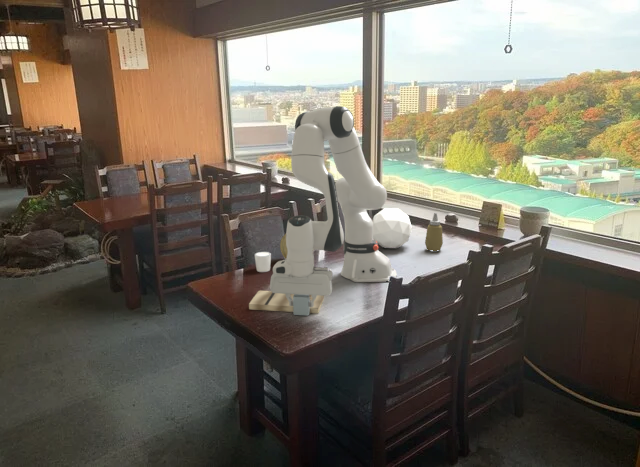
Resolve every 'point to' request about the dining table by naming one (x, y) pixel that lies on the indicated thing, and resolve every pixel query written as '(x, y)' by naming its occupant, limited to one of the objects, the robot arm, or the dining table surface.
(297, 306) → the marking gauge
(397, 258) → the dining table surface
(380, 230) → the ball
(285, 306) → the maple board
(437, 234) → the squeeze bottle
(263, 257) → the white cup
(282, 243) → the cantaloupe
